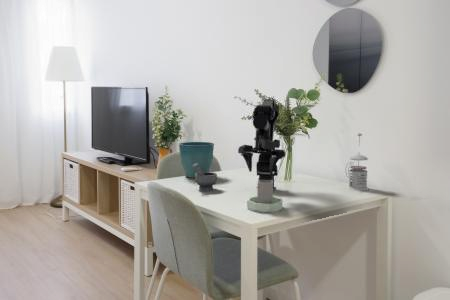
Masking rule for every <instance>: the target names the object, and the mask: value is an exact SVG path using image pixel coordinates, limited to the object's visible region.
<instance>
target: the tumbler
mask: <svg viewBox="0 0 450 300" xmlns="http://www.w3.org/2000/svg"><path fill="white" fill-rule="evenodd" d="M257 187H258V188H257V194H256V196H257V203H261V204H272V203H273V196H274V191H273V190H274V189H273V180H257Z"/></svg>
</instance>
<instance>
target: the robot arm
mask: <svg viewBox="0 0 450 300" xmlns="http://www.w3.org/2000/svg"><path fill="white" fill-rule="evenodd" d="M279 109H280V105H278V104H277V103H276V100H275V99H273V98H271V99H270V98H269V99H266V98H265V99H263V102H262V104H257V105H256V106H255V107H254V110H253V115H252V118H253V120H252V125H253V127H254V129H255V137H254V139H253V140H254V141H255V143H254V145H255V146H253V145H249V144H242V145H240V146H239V147H238V149H237V153H238V154H240V156H242V157H243V159H244V161H245V164H246V166H247V169H248V171H249V172H250V173H251V172H252V170H253V156H254V154H257V155H258V154H259V155H258V159H257V160H258V161H257V162H256V166H255V167H256V176H258V180H273V190H276V189H277V187H275V177H277V176H278V172H279V171H278V165H277V163H278V162H279V160H282V159H283V158H285V157H286V151H285V150H284V149H279V148H280V147H281V140H280V139H274V135H275V134H274V133H275V127H276V125H277V124H278V123H277V120H278V121H279V118H277V117H278V115H279ZM280 110H281V109H280ZM276 123H277V124H276ZM258 180H257V181H258ZM256 188H257V189H258V186H256Z"/></svg>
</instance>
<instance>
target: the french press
mask: <svg viewBox="0 0 450 300" xmlns="http://www.w3.org/2000/svg"><path fill="white" fill-rule="evenodd" d="M362 136H363V134H362V133H360V132H359V133H357V137H359V138H358V145H360V141H361V137H362ZM349 160H352V162H351V161H349V162H348V163H347V164H346V166H345V168H347V170H345V171H344V172H345V175H346V177H347V178H348V186H347V187H345V188H346V190H347V189H348V190H352V191H357V192H359V191H360V192H361V191H363V192H364V191H369V188H368V183H367V182H368V180H367V179H368V170H366V169H367V167H366V166H364V165H363V166H362V165H359V164H360V163H359V162H360V161H368V160H369V158H368V157H367V156H365V155H363V154H360V153H358V154H354V155H352V156H349ZM353 161H357V162H358V164H357V165H354V162H353ZM348 165H349V166H348ZM347 166H348V167H347Z"/></svg>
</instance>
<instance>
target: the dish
mask: <svg viewBox="0 0 450 300" xmlns="http://www.w3.org/2000/svg"><path fill="white" fill-rule="evenodd" d="M283 203H284V199H283V198H280V197H276V196H274V195H273V203H272V204H261V203H257V195H256V196H251V197H250V196H249V197H248V199H247V200H246V208H247V209H248V210H249V211H251V212H252V211H253V212H257V213H275V212H280V211H281V210H283V205H284V204H283Z"/></svg>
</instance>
